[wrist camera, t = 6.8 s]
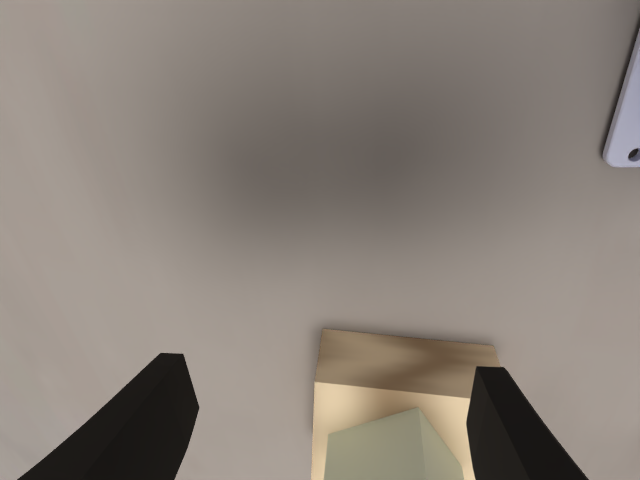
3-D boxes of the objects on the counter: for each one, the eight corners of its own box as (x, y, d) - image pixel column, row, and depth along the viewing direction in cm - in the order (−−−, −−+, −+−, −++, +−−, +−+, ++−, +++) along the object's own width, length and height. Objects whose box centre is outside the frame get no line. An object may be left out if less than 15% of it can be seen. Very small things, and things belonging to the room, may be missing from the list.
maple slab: (491, 340, 22) (513, 403, 19) (458, 444, 27) (470, 510, 24) (323, 323, 23) (314, 381, 20) (318, 428, 28) (310, 489, 24)
